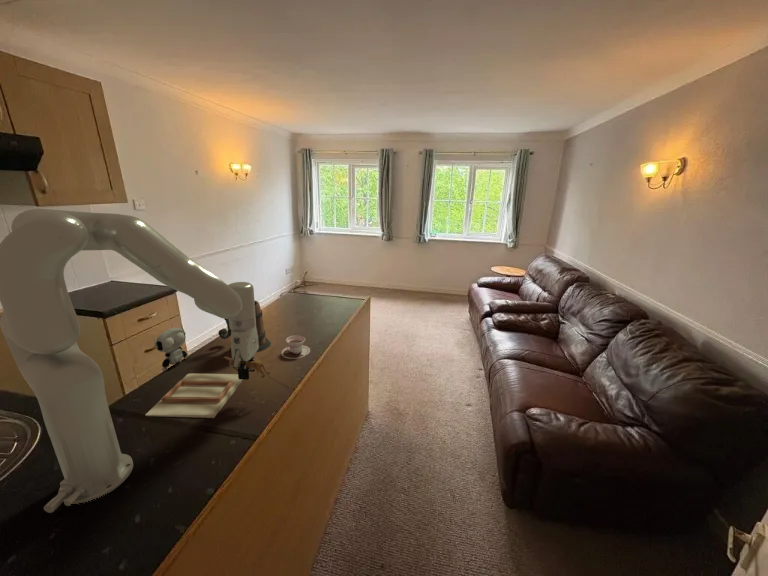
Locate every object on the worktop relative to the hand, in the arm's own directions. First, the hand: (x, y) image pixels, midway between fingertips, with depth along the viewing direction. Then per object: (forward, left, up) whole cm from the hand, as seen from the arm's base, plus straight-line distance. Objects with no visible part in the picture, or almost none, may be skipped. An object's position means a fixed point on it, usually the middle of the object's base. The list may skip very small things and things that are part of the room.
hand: (246, 374), depth 100 cm
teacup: (+31, -8, -9) cm, 33 cm away
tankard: (+37, +17, -9) cm, 41 cm away
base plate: (+1, +17, -9) cm, 19 cm away
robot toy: (+20, +36, -9) cm, 42 cm away
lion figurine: (0, -1, -1) cm, 2 cm away
